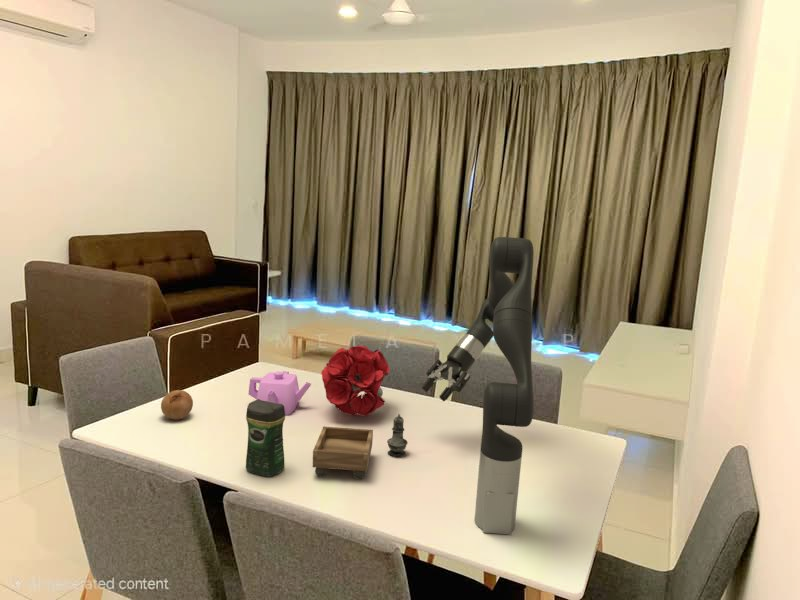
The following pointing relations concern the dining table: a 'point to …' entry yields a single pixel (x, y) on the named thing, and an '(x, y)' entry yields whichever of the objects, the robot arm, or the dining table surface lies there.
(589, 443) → the dining table surface
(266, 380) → the teakettle
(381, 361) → the bouquet
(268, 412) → the coffee jar
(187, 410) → the onion
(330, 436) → the wooden serving tray
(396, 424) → the grey stone tiered cylinder
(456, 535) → the dining table surface
